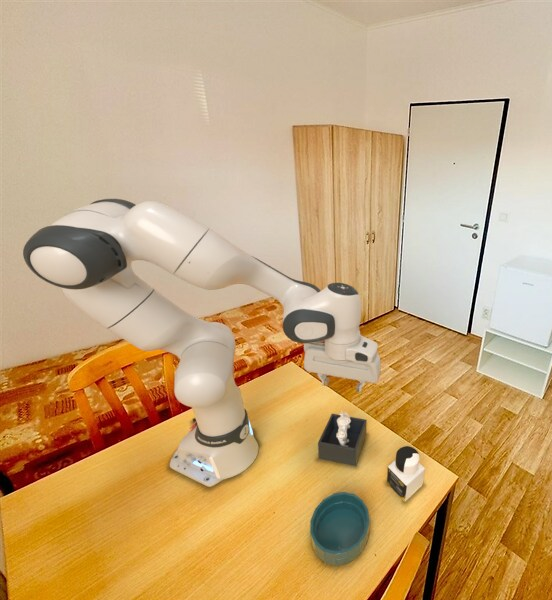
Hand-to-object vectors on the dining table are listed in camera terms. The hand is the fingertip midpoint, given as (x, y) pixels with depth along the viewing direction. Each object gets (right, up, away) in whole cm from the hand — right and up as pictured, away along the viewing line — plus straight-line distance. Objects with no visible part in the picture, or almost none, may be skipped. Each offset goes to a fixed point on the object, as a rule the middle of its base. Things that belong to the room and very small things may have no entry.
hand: (342, 387), depth 86 cm
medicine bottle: (+17, -27, +1) cm, 32 cm away
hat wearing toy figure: (-1, -20, +10) cm, 23 cm away
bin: (-1, -21, +10) cm, 23 cm away
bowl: (+2, -31, -11) cm, 33 cm away
